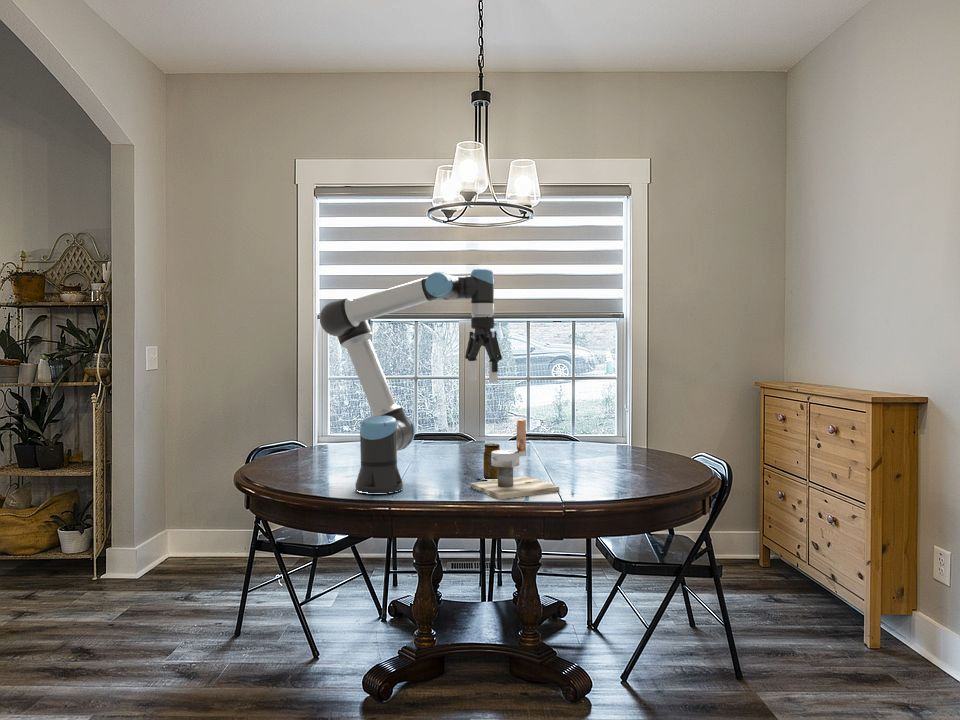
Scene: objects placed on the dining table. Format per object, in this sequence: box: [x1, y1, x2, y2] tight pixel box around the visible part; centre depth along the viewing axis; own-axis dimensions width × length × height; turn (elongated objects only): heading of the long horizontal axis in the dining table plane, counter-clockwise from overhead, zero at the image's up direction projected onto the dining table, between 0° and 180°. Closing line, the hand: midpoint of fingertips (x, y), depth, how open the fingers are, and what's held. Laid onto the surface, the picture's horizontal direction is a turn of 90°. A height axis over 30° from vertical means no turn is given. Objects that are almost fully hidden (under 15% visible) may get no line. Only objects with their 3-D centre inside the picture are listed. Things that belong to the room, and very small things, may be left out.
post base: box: [469, 467, 560, 501], centre depth 220 cm, size 19×22×8 cm
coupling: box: [491, 419, 527, 468], centre depth 220 cm, size 12×10×14 cm
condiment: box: [482, 443, 501, 479], centre depth 237 cm, size 7×8×12 cm
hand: (482, 381), depth 225 cm, fingers open, 13 cm apart
